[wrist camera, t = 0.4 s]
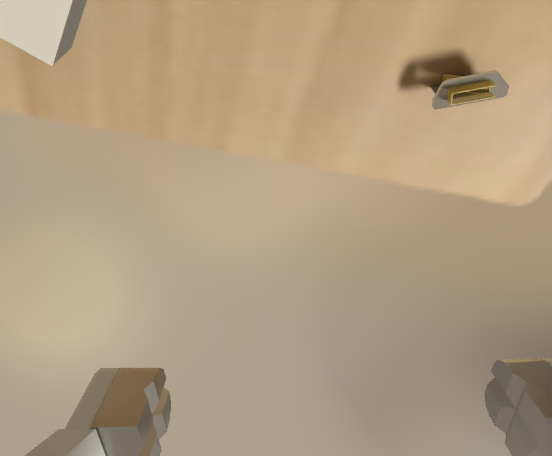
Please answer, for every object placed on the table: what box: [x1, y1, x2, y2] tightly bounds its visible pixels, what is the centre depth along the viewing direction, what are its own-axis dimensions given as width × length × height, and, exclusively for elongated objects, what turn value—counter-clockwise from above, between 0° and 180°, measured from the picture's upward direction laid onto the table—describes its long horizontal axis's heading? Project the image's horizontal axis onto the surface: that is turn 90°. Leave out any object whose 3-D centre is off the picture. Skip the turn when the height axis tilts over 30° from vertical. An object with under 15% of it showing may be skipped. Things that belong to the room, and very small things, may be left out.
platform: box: [431, 70, 509, 109], centre depth 53 cm, size 12×18×7 cm, turn 101°
